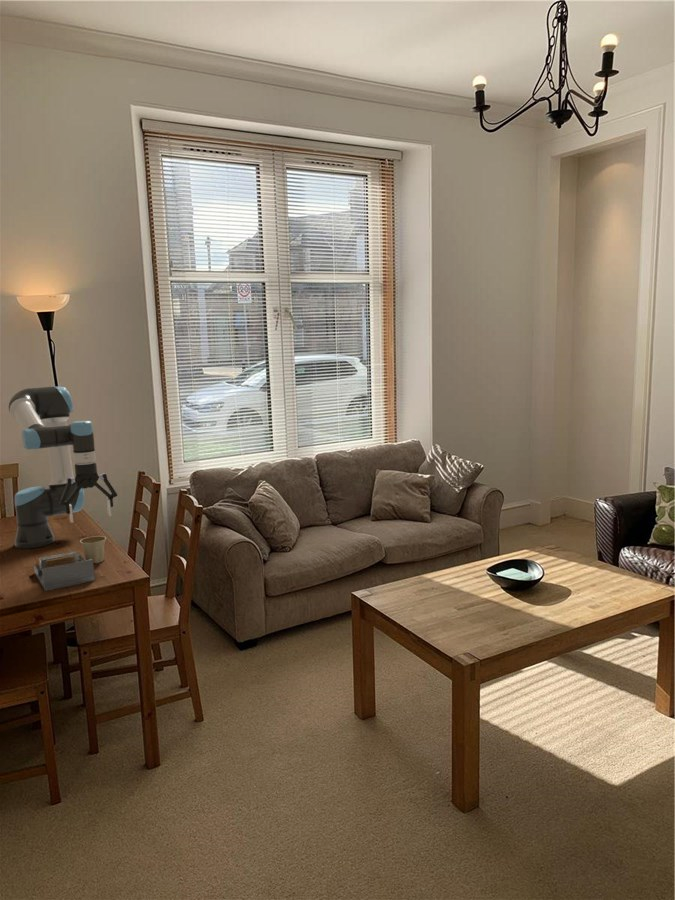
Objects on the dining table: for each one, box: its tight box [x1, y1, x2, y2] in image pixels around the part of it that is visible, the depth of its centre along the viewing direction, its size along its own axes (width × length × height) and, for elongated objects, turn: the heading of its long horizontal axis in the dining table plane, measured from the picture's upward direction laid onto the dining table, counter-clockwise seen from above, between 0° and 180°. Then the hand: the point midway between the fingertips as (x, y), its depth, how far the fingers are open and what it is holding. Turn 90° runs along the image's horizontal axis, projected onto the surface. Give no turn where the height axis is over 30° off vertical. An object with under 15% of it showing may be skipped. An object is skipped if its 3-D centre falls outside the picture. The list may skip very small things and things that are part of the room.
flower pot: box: [79, 535, 107, 564], centre depth 249 cm, size 9×9×9 cm
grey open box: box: [33, 554, 96, 592], centre depth 233 cm, size 22×16×8 cm
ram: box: [38, 550, 80, 570], centre depth 238 cm, size 5×13×4 cm, turn 122°
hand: (90, 518), depth 247 cm, fingers open, 13 cm apart
